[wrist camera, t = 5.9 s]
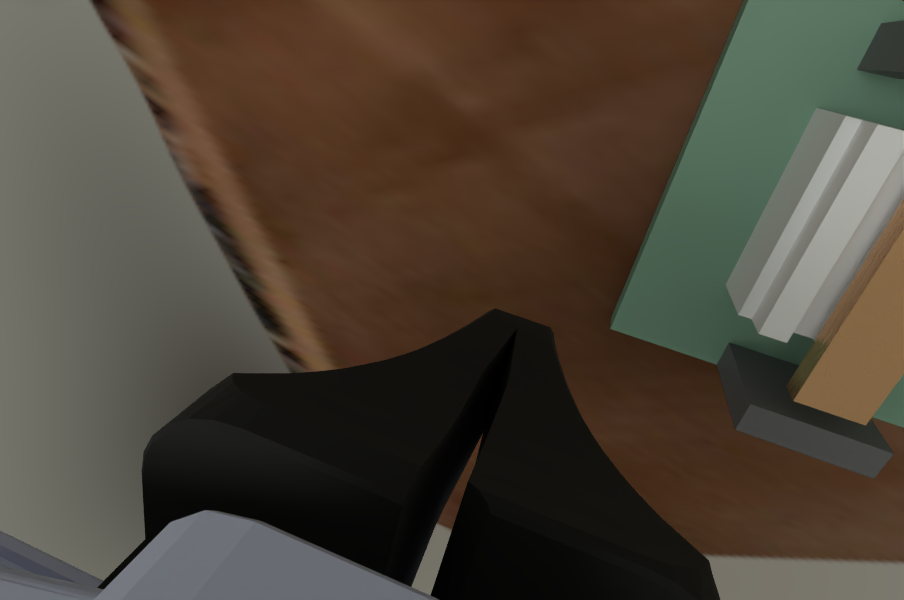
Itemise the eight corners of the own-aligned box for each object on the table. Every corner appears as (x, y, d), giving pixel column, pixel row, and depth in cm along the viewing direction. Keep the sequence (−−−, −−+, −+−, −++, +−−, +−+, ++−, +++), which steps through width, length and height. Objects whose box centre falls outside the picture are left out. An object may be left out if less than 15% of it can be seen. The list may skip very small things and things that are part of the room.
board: (936, 426, 20) (1048, 560, 14) (611, 317, 22) (605, 401, 16) (1223, 78, 14) (1570, 91, 9) (754, -26, 16) (814, -66, 11)
